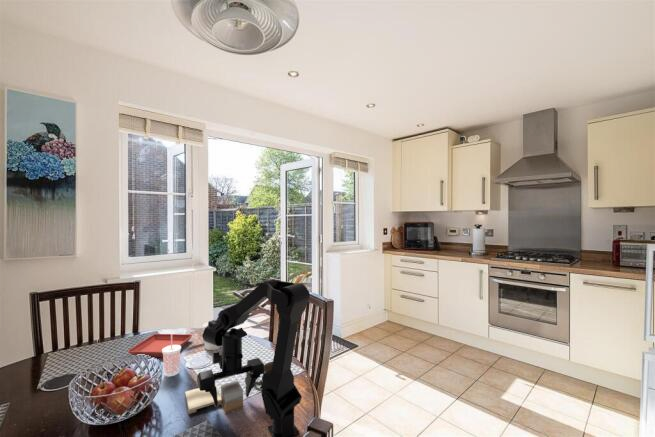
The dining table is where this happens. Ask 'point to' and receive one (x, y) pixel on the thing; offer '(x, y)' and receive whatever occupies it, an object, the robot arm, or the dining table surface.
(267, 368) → the brown looped cylinder
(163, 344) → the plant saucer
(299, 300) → the robot arm
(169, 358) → the beverage cup
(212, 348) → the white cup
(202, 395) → the cream slab
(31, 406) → the dining table surface
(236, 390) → the housing
